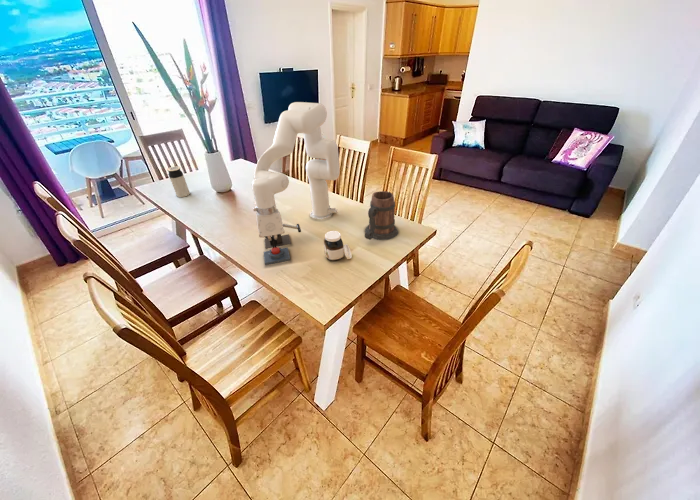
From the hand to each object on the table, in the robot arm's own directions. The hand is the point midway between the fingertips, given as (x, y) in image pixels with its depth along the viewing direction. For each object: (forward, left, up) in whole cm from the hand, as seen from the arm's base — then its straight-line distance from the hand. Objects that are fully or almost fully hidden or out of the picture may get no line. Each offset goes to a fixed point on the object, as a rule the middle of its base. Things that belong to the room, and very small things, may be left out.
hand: (274, 246), depth 130 cm
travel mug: (+75, -75, -7) cm, 106 cm away
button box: (0, 0, -7) cm, 7 cm away
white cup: (+14, -40, -7) cm, 43 cm away
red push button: (0, 0, -4) cm, 4 cm away
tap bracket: (+2, -13, -7) cm, 15 cm away
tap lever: (-3, -14, +1) cm, 15 cm away
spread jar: (-28, 0, -7) cm, 29 cm away
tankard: (-48, -18, -7) cm, 52 cm away
